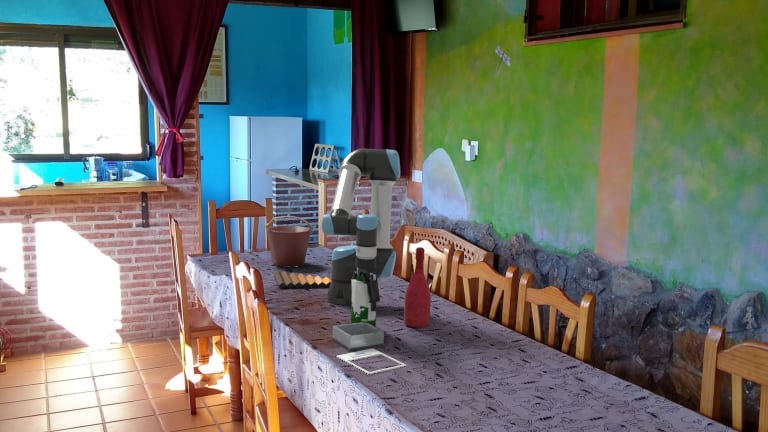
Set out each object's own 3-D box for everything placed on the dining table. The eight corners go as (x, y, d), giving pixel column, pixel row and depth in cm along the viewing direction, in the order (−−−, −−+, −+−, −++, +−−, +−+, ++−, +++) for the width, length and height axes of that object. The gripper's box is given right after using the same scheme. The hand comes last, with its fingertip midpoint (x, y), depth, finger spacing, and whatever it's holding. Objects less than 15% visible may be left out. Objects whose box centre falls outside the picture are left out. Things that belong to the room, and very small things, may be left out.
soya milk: (368, 323, 267) (370, 272, 264) (379, 330, 259) (381, 277, 256) (347, 326, 263) (349, 273, 260) (357, 333, 255) (359, 279, 252)
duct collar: (364, 335, 252) (365, 321, 252) (383, 346, 241) (384, 332, 241) (332, 340, 246) (332, 326, 245) (349, 351, 235) (350, 336, 234)
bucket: (259, 266, 358) (260, 217, 355) (273, 258, 380) (274, 212, 376) (305, 269, 354) (307, 220, 351) (317, 261, 376) (318, 215, 372)
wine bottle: (433, 323, 270) (437, 247, 266) (423, 330, 262) (427, 251, 257) (409, 319, 274) (413, 244, 270) (399, 326, 266) (403, 247, 261)
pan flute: (273, 277, 338) (278, 289, 314) (273, 270, 338) (278, 282, 314) (324, 276, 345) (333, 288, 321) (324, 269, 344) (333, 281, 320)
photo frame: (373, 347, 237) (406, 364, 223) (373, 351, 237) (406, 367, 223) (336, 355, 228) (368, 372, 214) (336, 358, 229) (368, 376, 214)
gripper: (342, 251, 265) (340, 308, 268) (373, 264, 245) (370, 325, 248) (359, 250, 269) (357, 306, 272) (391, 262, 249) (388, 322, 252)
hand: (363, 315), depth 260 cm, fingers open, 11 cm apart
